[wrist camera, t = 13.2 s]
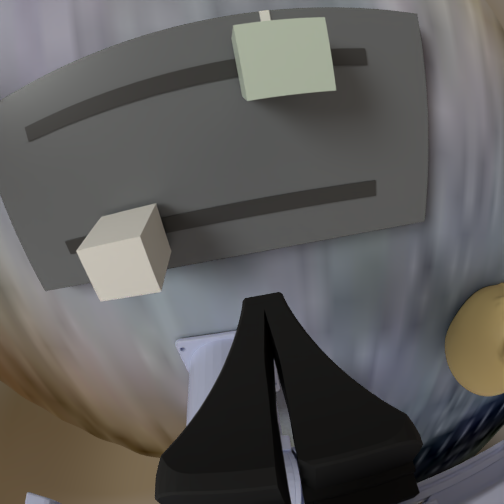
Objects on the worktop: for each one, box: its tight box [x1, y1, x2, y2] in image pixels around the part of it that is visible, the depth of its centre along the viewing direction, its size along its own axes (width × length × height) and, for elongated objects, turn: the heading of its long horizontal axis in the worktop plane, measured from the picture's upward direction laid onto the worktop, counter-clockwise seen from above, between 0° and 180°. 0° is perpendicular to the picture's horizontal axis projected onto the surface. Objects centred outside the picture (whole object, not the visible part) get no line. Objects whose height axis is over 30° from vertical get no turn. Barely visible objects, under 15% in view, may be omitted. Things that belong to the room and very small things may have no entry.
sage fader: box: [231, 17, 336, 101], centre depth 12 cm, size 3×4×4 cm
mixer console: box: [0, 8, 428, 291], centre depth 17 cm, size 14×28×2 cm, turn 99°
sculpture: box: [445, 283, 504, 396], centre depth 24 cm, size 12×12×11 cm
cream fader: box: [76, 203, 171, 301], centre depth 17 cm, size 3×4×4 cm
